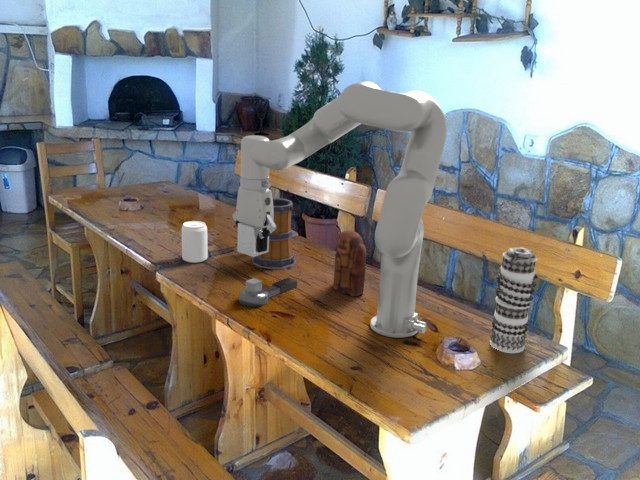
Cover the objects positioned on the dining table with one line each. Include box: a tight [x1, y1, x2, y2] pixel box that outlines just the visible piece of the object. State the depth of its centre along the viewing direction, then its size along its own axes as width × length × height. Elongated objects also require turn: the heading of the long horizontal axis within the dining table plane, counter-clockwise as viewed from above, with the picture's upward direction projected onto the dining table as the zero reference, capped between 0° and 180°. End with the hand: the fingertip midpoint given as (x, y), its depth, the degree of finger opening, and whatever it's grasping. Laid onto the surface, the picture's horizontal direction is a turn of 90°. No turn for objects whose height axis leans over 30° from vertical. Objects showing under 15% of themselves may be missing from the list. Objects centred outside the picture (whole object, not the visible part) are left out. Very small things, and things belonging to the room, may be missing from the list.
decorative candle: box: [489, 246, 539, 354], centre depth 158 cm, size 9×9×25 cm
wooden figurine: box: [332, 229, 367, 297], centre depth 189 cm, size 12×6×18 cm, turn 42°
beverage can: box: [181, 220, 209, 264], centre depth 209 cm, size 8×8×12 cm
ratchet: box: [238, 276, 298, 308], centre depth 185 cm, size 8×21×6 cm, turn 142°
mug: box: [251, 197, 297, 270], centre depth 212 cm, size 19×14×20 cm
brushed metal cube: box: [236, 222, 269, 258], centre depth 175 cm, size 6×6×8 cm
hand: (253, 247), depth 176 cm, fingers closed on brushed metal cube, 6 cm apart
